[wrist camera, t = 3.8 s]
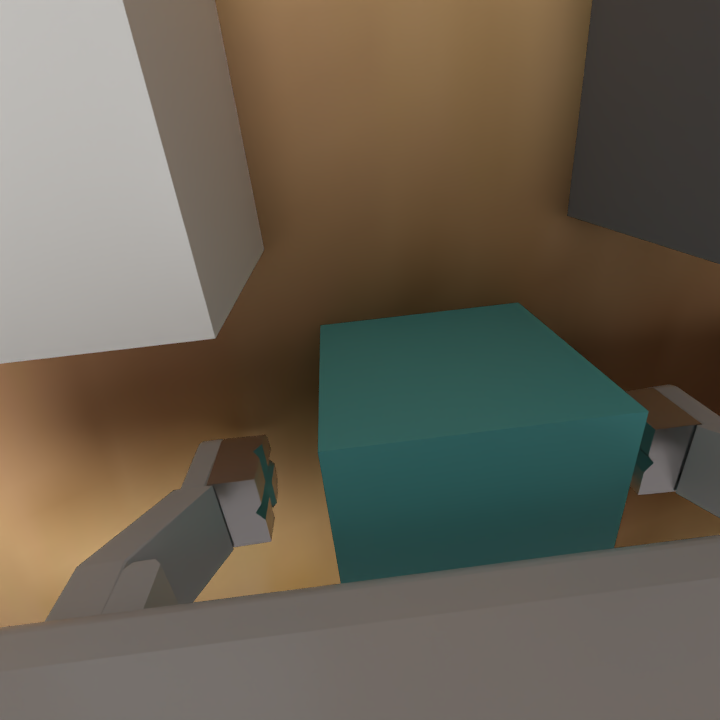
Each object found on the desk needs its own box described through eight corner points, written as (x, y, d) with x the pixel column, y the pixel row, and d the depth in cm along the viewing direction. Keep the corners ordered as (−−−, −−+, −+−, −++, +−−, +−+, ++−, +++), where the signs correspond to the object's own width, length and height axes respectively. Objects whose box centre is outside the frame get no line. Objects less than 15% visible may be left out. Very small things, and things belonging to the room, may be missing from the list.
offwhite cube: (208, -36, 8) (45, -282, 3) (264, 248, 10) (215, 338, 5) (-80, -7, 8) (-666, -220, 3) (44, 273, 10) (-188, 384, 5)
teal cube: (516, 301, 11) (648, 411, 6) (505, 455, 13) (596, 615, 9) (320, 324, 11) (317, 451, 6) (342, 476, 13) (352, 648, 9)
